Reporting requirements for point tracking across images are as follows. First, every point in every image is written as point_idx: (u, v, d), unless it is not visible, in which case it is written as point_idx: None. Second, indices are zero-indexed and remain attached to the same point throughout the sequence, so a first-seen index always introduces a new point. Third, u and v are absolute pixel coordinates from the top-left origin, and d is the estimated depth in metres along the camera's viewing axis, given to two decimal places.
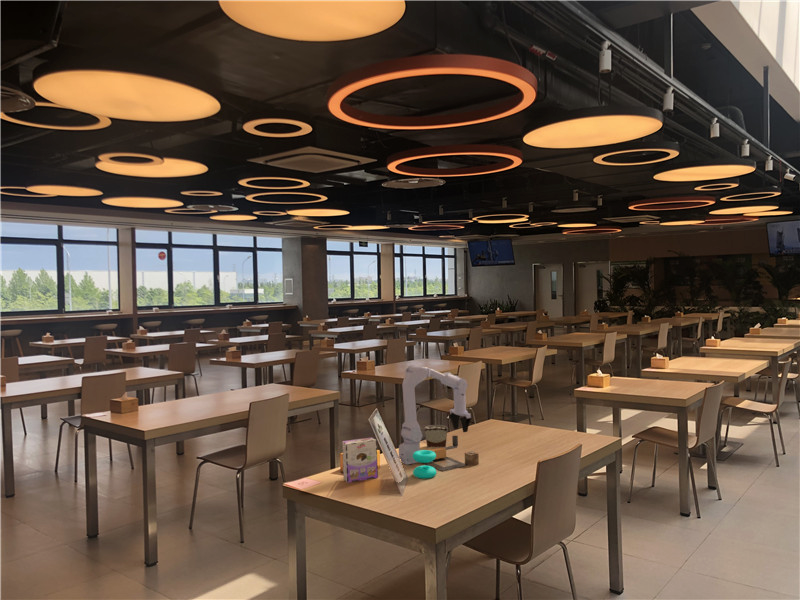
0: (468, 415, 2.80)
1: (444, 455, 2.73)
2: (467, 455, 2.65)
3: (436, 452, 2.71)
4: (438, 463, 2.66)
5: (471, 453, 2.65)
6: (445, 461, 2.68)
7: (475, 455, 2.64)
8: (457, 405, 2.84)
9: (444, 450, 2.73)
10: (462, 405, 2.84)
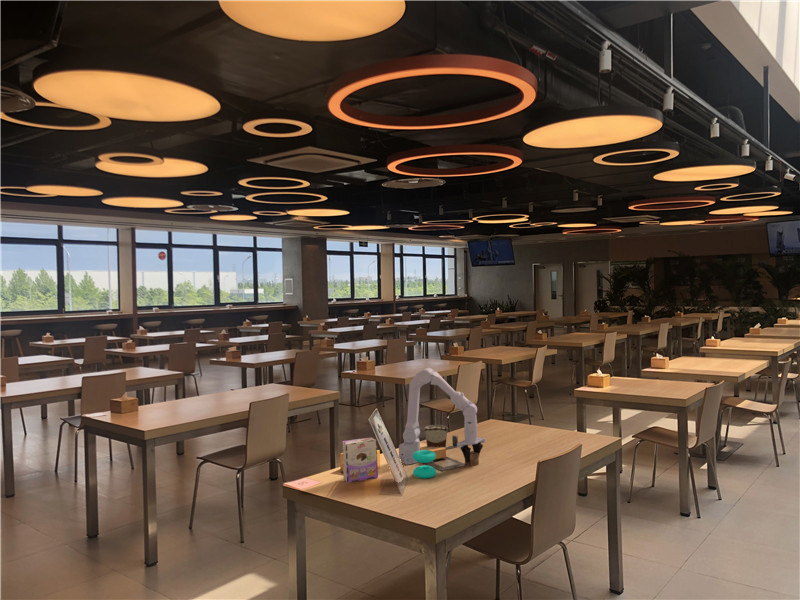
0: (457, 444, 2.62)
1: (444, 455, 2.73)
2: None
3: (436, 452, 2.71)
4: (438, 463, 2.66)
5: (471, 453, 2.65)
6: (445, 461, 2.68)
7: (475, 455, 2.64)
8: None
9: (444, 450, 2.73)
10: (465, 433, 2.64)
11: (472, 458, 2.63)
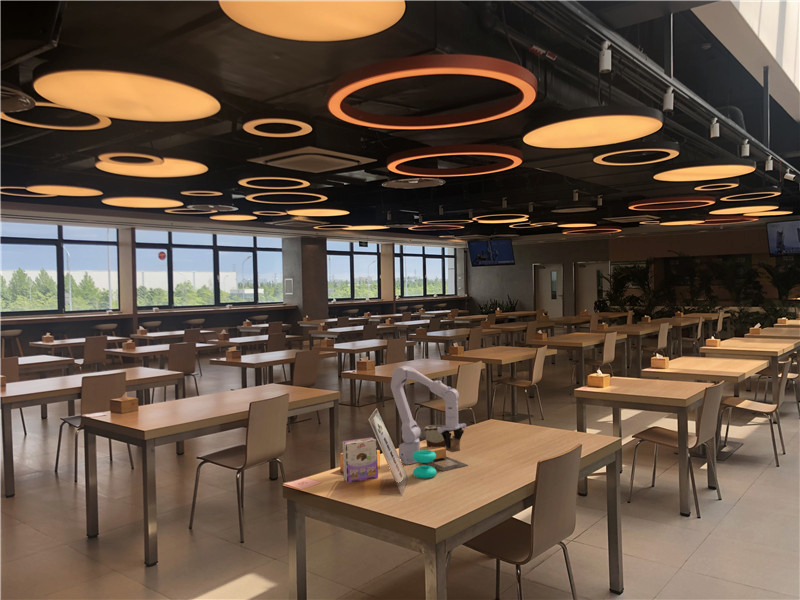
0: (438, 429, 2.62)
1: (444, 455, 2.73)
2: None
3: (436, 452, 2.71)
4: (438, 463, 2.66)
5: (452, 439, 2.64)
6: (445, 461, 2.68)
7: (456, 441, 2.64)
8: None
9: (444, 450, 2.73)
10: (446, 419, 2.64)
11: (453, 444, 2.63)
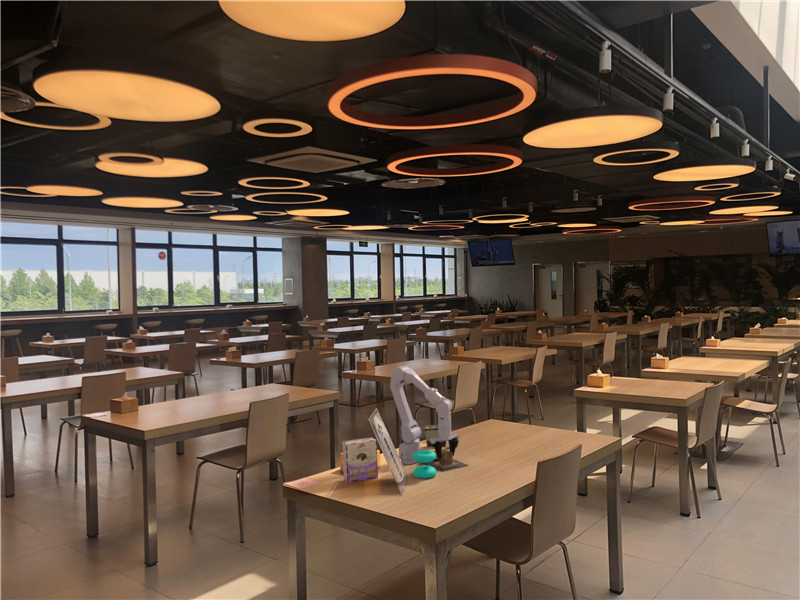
0: (431, 440, 2.62)
1: None
2: (441, 454, 2.64)
3: None
4: (438, 463, 2.66)
5: (445, 452, 2.64)
6: None
7: (449, 454, 2.64)
8: None
9: (444, 450, 2.73)
10: (439, 429, 2.64)
11: (446, 457, 2.63)
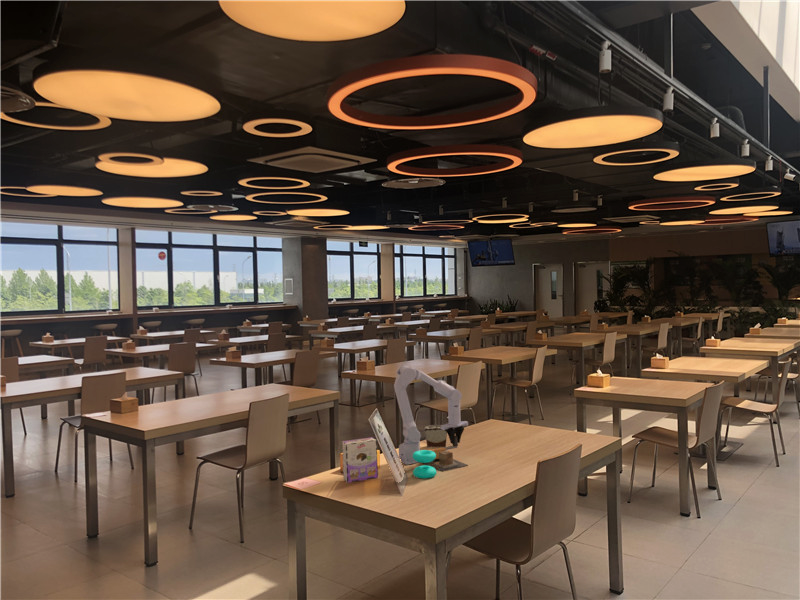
0: (441, 426, 2.74)
1: None
2: (441, 454, 2.64)
3: (436, 452, 2.71)
4: (438, 463, 2.66)
5: (445, 452, 2.64)
6: None
7: (449, 454, 2.64)
8: None
9: (444, 450, 2.73)
10: (449, 416, 2.77)
11: (446, 457, 2.63)
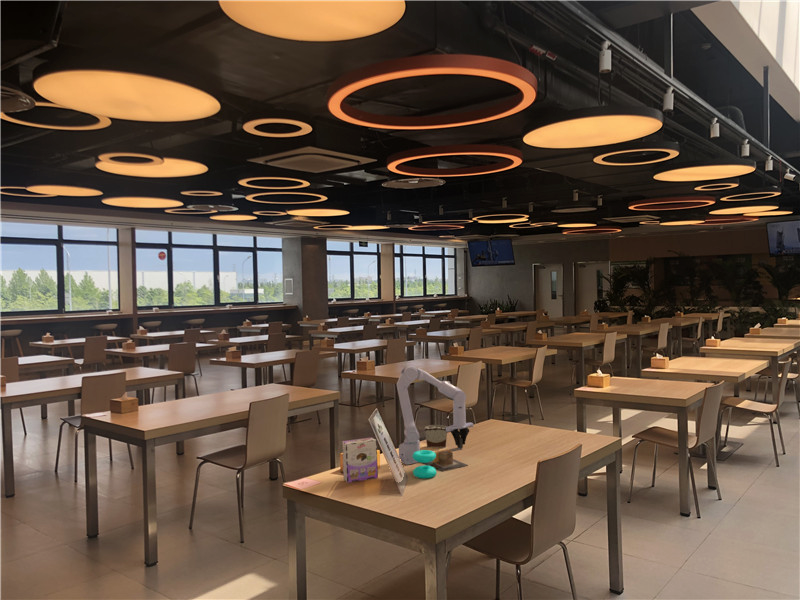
0: (446, 428, 2.71)
1: None
2: (441, 454, 2.64)
3: None
4: (438, 463, 2.66)
5: (445, 452, 2.64)
6: None
7: (449, 454, 2.64)
8: None
9: None
10: (454, 418, 2.73)
11: (446, 457, 2.63)
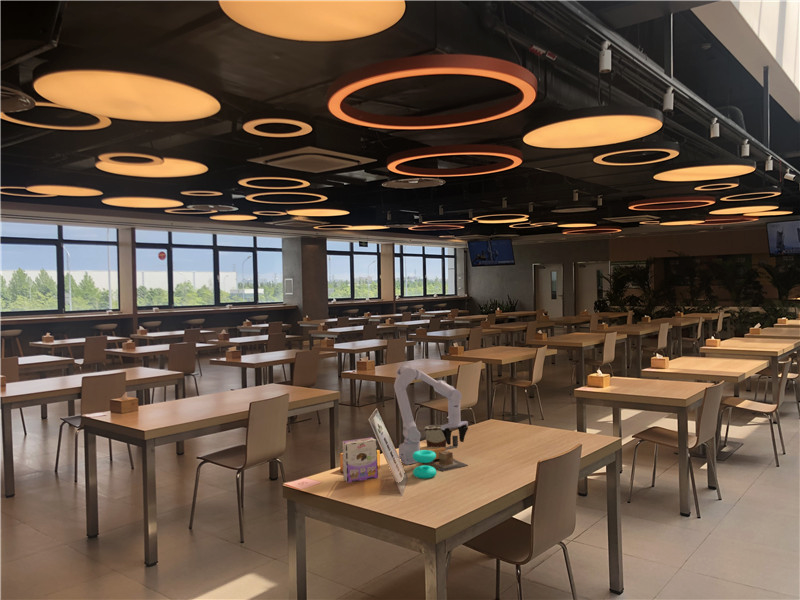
0: (441, 426, 2.74)
1: None
2: (441, 454, 2.64)
3: (436, 452, 2.71)
4: (438, 463, 2.66)
5: (445, 452, 2.64)
6: None
7: (449, 454, 2.64)
8: None
9: (444, 450, 2.73)
10: (449, 416, 2.77)
11: (446, 457, 2.63)
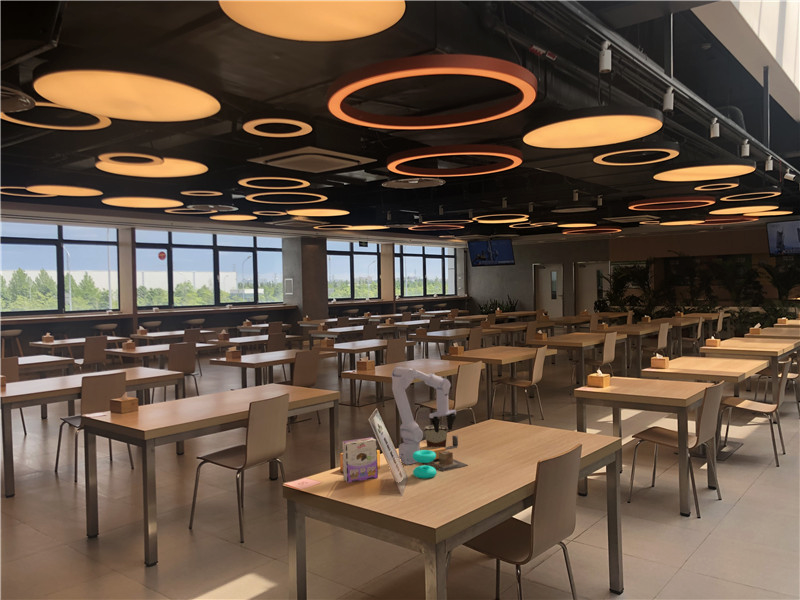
0: (430, 415, 2.82)
1: None
2: (441, 454, 2.64)
3: (436, 452, 2.71)
4: (438, 463, 2.66)
5: (445, 452, 2.64)
6: None
7: (449, 454, 2.64)
8: None
9: (444, 450, 2.73)
10: (437, 405, 2.84)
11: (446, 457, 2.63)
